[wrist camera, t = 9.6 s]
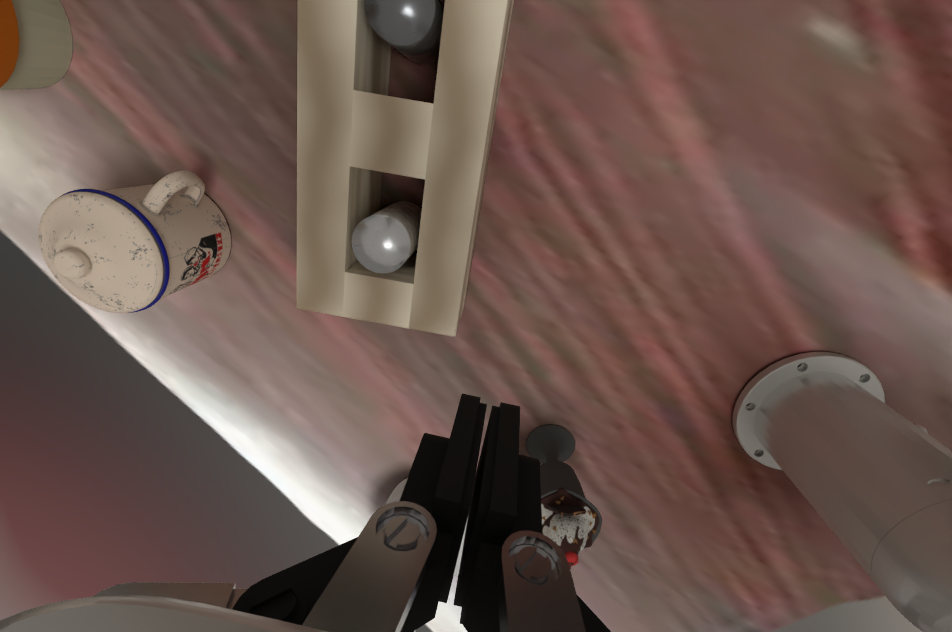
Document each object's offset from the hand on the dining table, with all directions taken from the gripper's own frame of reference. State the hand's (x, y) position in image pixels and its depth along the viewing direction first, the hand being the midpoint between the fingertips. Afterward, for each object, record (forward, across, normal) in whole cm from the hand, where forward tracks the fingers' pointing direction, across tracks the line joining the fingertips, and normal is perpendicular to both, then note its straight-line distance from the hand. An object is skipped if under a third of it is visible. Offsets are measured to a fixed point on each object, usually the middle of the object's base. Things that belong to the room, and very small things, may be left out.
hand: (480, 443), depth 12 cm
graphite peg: (+26, +10, -14) cm, 31 cm away
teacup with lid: (+27, +28, +4) cm, 39 cm away
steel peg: (+27, +9, 0) cm, 28 cm away
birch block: (+27, +9, -7) cm, 29 cm away
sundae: (+28, -8, +20) cm, 35 cm away
